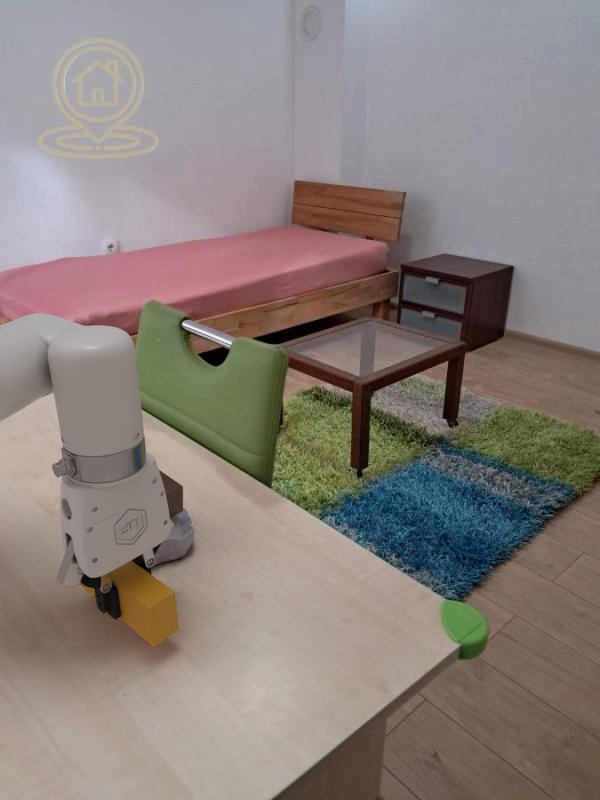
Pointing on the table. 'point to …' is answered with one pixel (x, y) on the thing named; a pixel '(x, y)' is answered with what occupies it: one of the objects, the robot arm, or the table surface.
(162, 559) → the stone block
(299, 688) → the table surface
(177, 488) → the walnut block
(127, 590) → the bar
